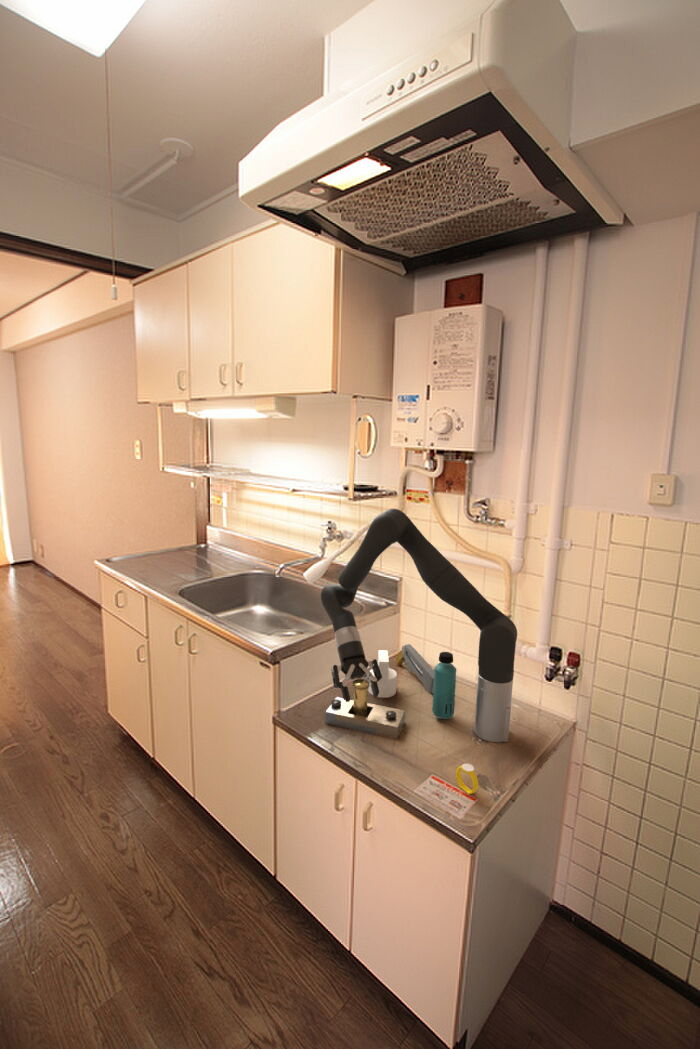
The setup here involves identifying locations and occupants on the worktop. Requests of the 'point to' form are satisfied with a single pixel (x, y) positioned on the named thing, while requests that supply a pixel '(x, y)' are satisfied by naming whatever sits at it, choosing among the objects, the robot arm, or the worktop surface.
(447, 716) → the beverage bottle
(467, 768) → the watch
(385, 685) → the cylinder with rectangular tab
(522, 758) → the worktop surface
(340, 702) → the metal socket block
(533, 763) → the worktop surface
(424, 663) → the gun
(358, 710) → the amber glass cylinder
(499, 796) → the worktop surface
